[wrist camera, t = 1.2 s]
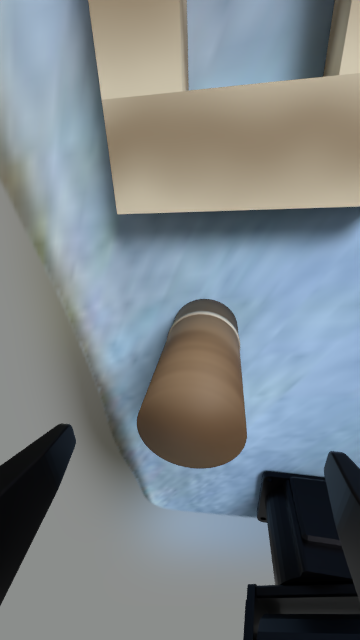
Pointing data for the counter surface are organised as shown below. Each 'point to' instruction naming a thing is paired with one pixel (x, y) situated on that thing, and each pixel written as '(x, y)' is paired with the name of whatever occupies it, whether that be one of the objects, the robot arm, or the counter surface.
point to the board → (223, 120)
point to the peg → (197, 390)
